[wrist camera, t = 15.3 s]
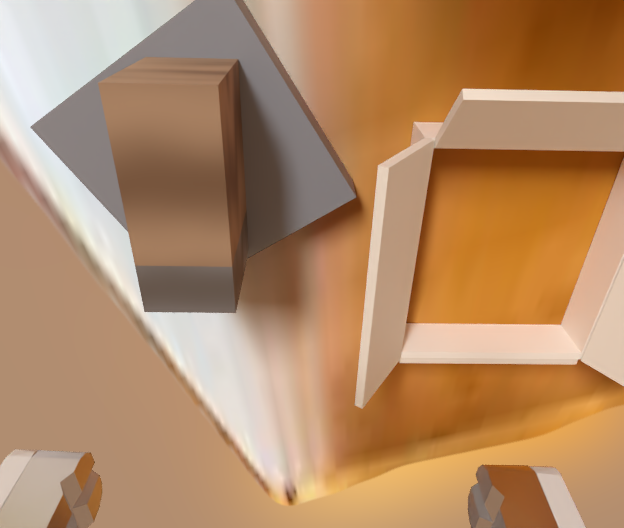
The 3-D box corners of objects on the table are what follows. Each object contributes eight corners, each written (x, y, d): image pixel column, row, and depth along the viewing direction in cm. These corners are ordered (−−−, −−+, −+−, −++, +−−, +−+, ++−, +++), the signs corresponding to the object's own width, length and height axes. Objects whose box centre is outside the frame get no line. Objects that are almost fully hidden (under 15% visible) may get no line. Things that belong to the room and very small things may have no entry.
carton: (366, 63, 29) (386, 95, 22) (720, 71, 29) (857, 104, 22) (345, 333, 40) (354, 414, 33) (602, 336, 41) (668, 416, 33)
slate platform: (229, -21, 27) (221, -21, 24) (352, 179, 33) (356, 197, 30) (53, 113, 30) (30, 126, 28) (193, 270, 37) (185, 293, 34)
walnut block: (145, 56, 26) (98, 82, 20) (238, 59, 26) (217, 84, 20) (174, 248, 32) (144, 311, 26) (248, 249, 32) (235, 312, 26)
